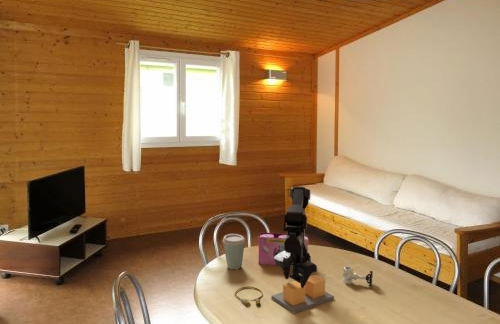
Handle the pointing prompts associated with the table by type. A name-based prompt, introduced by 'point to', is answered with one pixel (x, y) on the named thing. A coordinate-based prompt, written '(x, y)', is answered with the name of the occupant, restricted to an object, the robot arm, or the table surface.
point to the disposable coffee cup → (234, 250)
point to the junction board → (307, 295)
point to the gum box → (272, 246)
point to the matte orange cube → (293, 293)
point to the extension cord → (251, 300)
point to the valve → (355, 276)
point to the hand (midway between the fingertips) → (294, 283)
